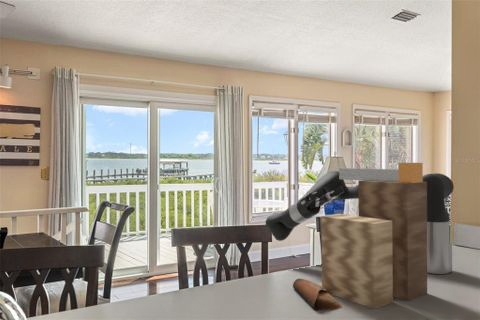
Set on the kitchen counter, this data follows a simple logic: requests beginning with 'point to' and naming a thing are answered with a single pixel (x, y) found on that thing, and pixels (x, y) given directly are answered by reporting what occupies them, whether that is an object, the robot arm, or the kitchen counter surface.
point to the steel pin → (386, 173)
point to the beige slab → (358, 259)
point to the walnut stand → (401, 230)
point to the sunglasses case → (315, 295)
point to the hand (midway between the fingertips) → (334, 189)
